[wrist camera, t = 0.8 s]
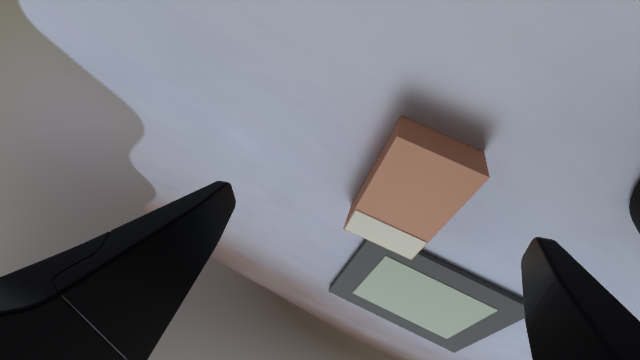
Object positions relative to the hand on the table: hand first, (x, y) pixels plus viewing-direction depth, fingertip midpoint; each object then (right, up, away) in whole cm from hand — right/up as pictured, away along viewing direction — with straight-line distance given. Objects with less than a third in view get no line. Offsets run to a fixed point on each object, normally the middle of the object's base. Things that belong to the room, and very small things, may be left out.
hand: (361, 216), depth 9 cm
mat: (+9, -11, +22) cm, 26 cm away
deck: (+6, +1, +14) cm, 16 cm away
